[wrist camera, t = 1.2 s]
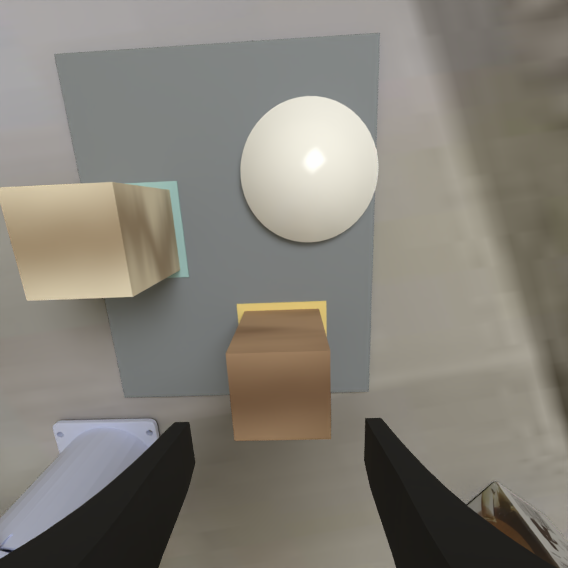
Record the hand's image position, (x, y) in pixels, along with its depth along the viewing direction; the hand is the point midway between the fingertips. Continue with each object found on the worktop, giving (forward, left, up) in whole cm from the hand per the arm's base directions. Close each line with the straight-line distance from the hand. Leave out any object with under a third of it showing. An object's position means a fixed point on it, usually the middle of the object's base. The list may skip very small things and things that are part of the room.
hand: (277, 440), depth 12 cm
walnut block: (0, 0, -9) cm, 9 cm away
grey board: (+7, +3, -9) cm, 12 cm away
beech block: (+8, +9, -9) cm, 15 cm away
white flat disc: (+11, -2, -9) cm, 14 cm away
